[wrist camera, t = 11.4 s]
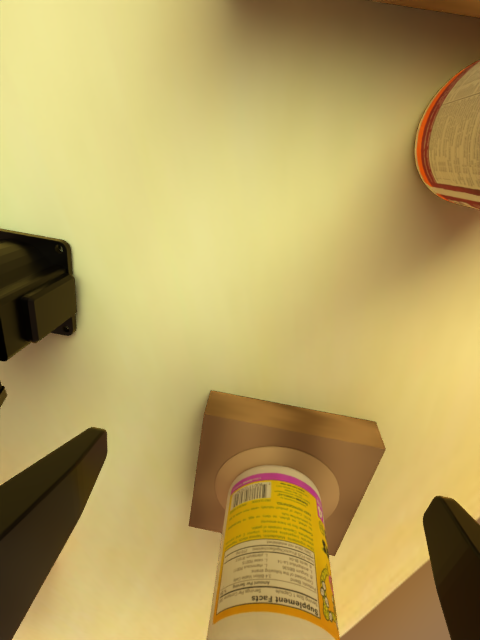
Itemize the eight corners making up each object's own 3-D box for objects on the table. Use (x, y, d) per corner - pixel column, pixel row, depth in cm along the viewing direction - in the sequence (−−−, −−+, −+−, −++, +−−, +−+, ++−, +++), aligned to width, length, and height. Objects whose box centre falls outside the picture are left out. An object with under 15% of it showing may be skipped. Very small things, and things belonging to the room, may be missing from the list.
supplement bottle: (301, 531, 26) (320, 827, 15) (219, 508, 26) (172, 789, 14) (335, 474, 23) (392, 788, 12) (242, 448, 23) (207, 740, 11)
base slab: (195, 498, 30) (188, 527, 27) (211, 390, 24) (203, 414, 22) (330, 525, 29) (334, 557, 27) (375, 421, 24) (386, 450, 22)
